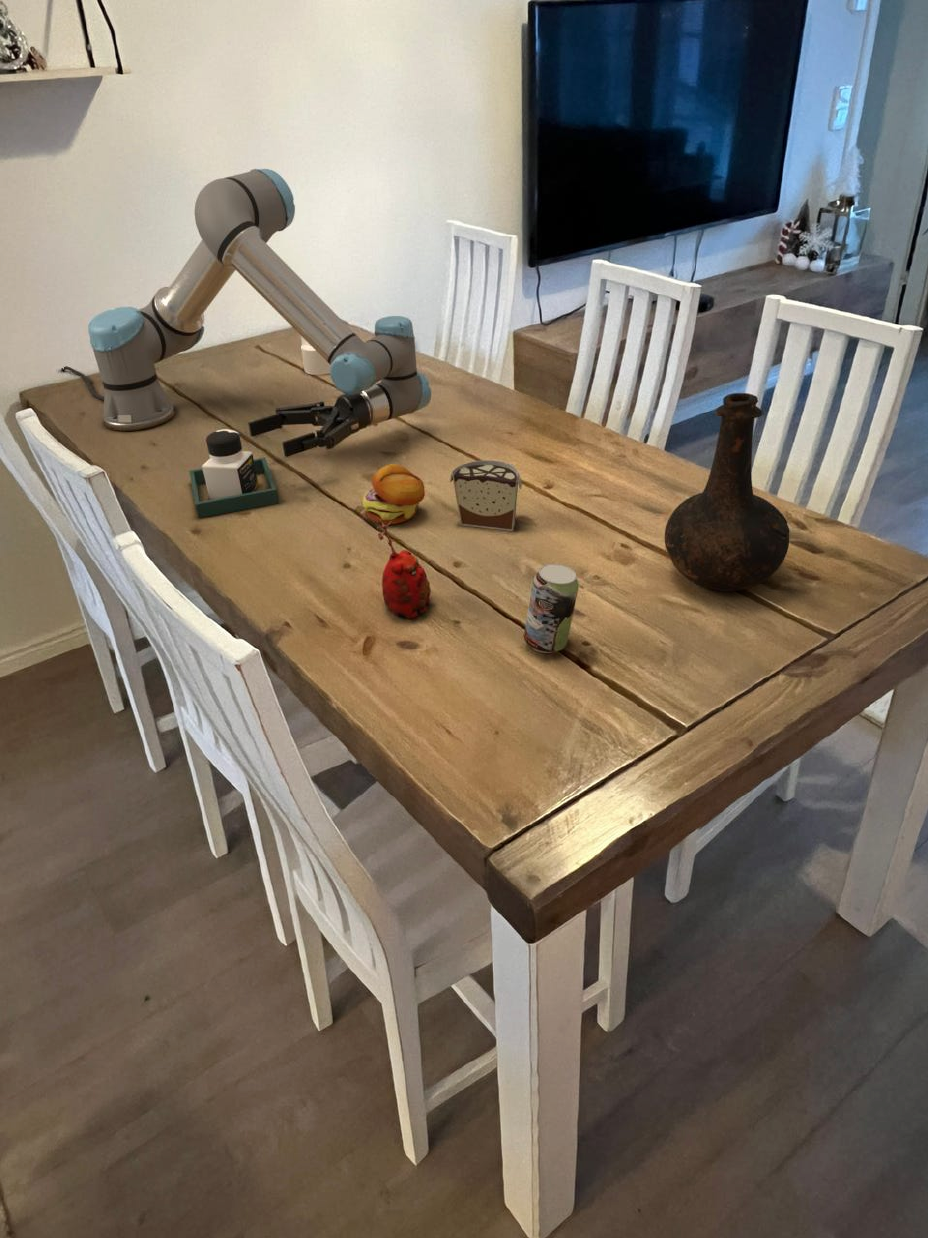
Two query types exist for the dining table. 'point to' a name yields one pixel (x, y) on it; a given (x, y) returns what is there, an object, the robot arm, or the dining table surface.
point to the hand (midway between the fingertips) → (266, 439)
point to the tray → (235, 501)
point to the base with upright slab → (313, 360)
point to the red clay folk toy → (404, 582)
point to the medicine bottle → (228, 466)
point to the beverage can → (551, 608)
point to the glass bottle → (729, 514)
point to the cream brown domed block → (487, 494)
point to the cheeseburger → (393, 495)
